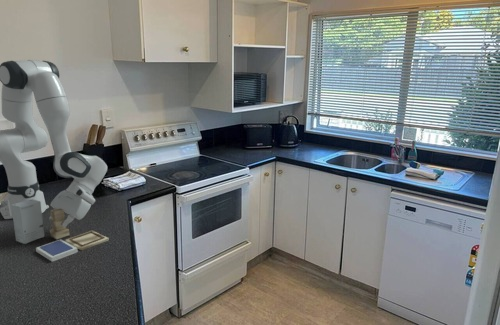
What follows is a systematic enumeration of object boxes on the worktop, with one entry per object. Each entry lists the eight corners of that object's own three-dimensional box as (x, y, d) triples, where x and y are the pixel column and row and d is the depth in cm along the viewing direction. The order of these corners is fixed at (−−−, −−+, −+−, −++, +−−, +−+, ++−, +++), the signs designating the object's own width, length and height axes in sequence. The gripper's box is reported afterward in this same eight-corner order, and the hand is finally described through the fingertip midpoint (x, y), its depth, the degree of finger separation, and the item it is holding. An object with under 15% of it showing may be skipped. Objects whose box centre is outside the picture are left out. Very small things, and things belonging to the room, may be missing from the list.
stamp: (50, 237, 146) (47, 210, 143) (63, 232, 150) (60, 207, 147) (56, 240, 143) (53, 213, 140) (69, 236, 147) (66, 209, 144)
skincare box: (24, 244, 139) (18, 207, 136) (15, 241, 142) (9, 204, 139) (45, 236, 146) (41, 200, 143) (36, 233, 149) (31, 198, 146)
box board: (65, 241, 142) (65, 238, 142) (92, 232, 150) (92, 229, 150) (81, 250, 135) (81, 247, 134) (109, 240, 143) (108, 237, 143)
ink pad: (36, 251, 134) (35, 247, 133) (61, 242, 141) (60, 238, 140) (52, 261, 127) (51, 257, 126) (77, 252, 134) (77, 247, 133)
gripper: (59, 184, 154) (38, 213, 148) (86, 193, 141) (63, 225, 136) (71, 191, 158) (50, 220, 153) (97, 201, 146) (76, 233, 141)
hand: (56, 223), depth 144 cm, fingers open, 8 cm apart
